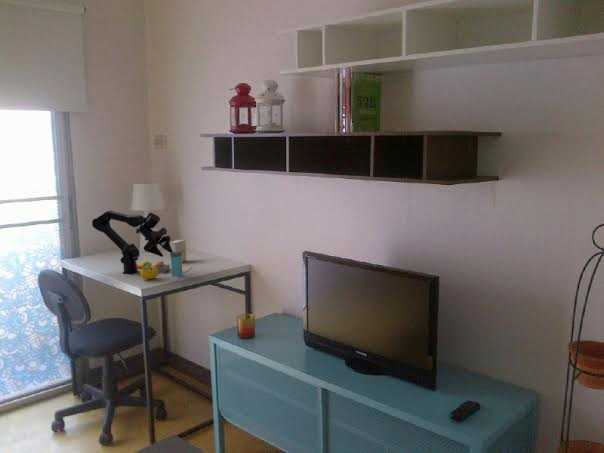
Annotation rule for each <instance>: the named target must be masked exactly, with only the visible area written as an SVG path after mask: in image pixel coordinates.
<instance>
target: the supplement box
mask: <svg viewBox="0 0 604 453" xmlns="http://www.w3.org/2000/svg"><path fill="white" fill-rule="evenodd" d="M170 246H171V249H172V251H173V252H181V254H182V256H181V259H182V263H184V262H187V250H186V249H187V248H186V240H185V239H177V240H172V241H170Z"/></svg>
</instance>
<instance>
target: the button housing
mask: <svg viewBox="0 0 604 453" xmlns="http://www.w3.org/2000/svg"><path fill="white" fill-rule="evenodd" d="M154 266H156V264H154V265H152V266H151V268H150V270H149V271H152V269H153V267H154ZM157 268H158V274H165V273H166V272H167V271H168V270H170V269H171V265H170V264H165V263H164V266H163V267H157ZM167 273H168V272H167Z"/></svg>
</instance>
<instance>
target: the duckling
mask: <svg viewBox="0 0 604 453" xmlns="http://www.w3.org/2000/svg"><path fill="white" fill-rule="evenodd" d="M152 266H154V265H153V263H151V262H149V261H145V260H144V261H142V262H141V263H140V265H139V264H137V265H136V267H137V270H138V271H139V270H140V271H141V272H140V277H141V278H142V279H143V280H146V281H149V280H153V279H155V278H156V277H157V276H158V275H159V273H158V268H157V267H156V266H154V267H153V269H152V271H150V268H151V267H152Z"/></svg>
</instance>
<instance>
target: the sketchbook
mask: <svg viewBox="0 0 604 453" xmlns="http://www.w3.org/2000/svg"><path fill="white" fill-rule="evenodd" d="M191 269H193V267H192V266H182V273H187V272H188V271H189V270H191ZM167 273H172V268H170V270H168V271H167Z"/></svg>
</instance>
